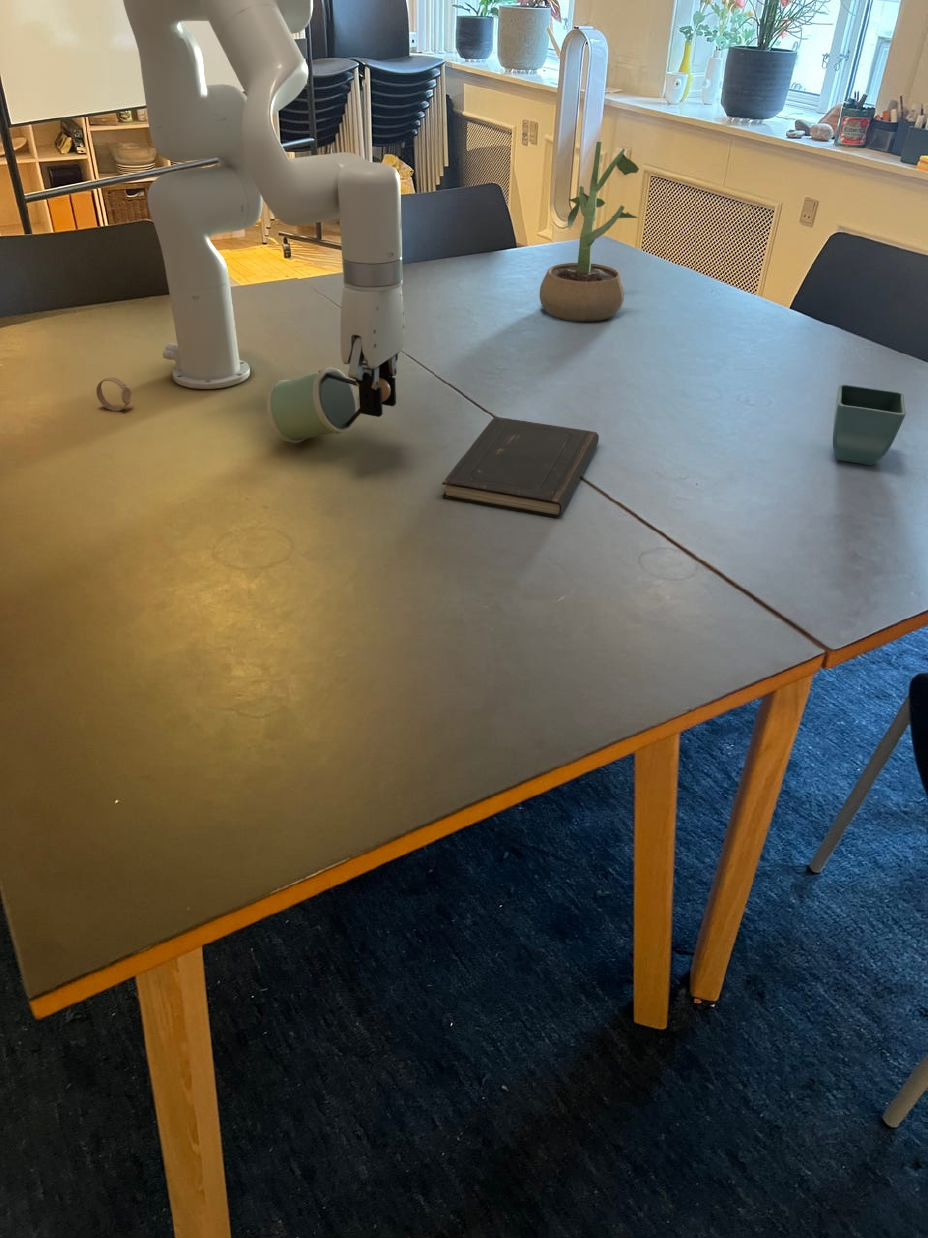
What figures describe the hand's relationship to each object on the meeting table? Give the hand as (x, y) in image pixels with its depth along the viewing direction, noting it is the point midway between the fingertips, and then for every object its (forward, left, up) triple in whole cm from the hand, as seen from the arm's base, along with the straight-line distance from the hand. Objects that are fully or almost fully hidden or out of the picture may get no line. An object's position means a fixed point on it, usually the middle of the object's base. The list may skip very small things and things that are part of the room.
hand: (378, 407), depth 130 cm
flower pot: (+62, +30, -8) cm, 69 cm away
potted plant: (+5, +81, -8) cm, 82 cm away
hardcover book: (+20, +5, -8) cm, 22 cm away
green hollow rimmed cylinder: (-5, 0, -4) cm, 7 cm away
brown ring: (-45, -2, -8) cm, 46 cm away
